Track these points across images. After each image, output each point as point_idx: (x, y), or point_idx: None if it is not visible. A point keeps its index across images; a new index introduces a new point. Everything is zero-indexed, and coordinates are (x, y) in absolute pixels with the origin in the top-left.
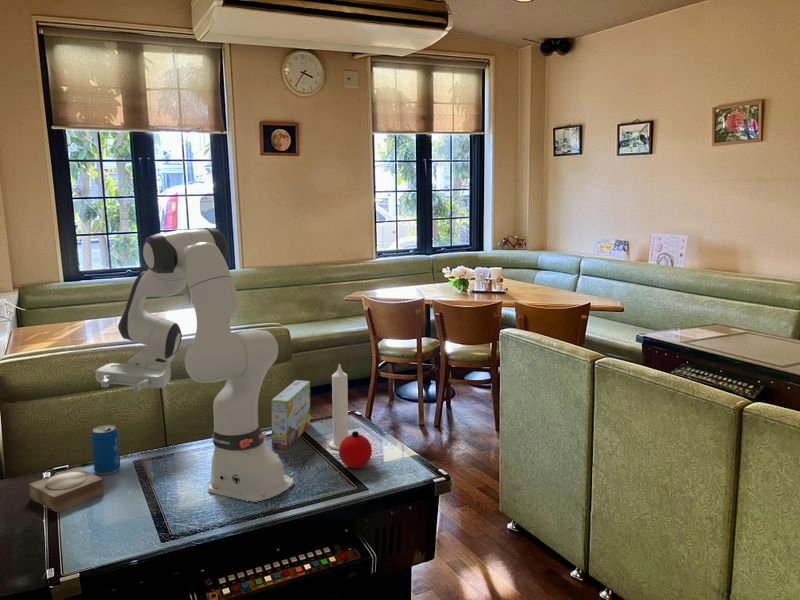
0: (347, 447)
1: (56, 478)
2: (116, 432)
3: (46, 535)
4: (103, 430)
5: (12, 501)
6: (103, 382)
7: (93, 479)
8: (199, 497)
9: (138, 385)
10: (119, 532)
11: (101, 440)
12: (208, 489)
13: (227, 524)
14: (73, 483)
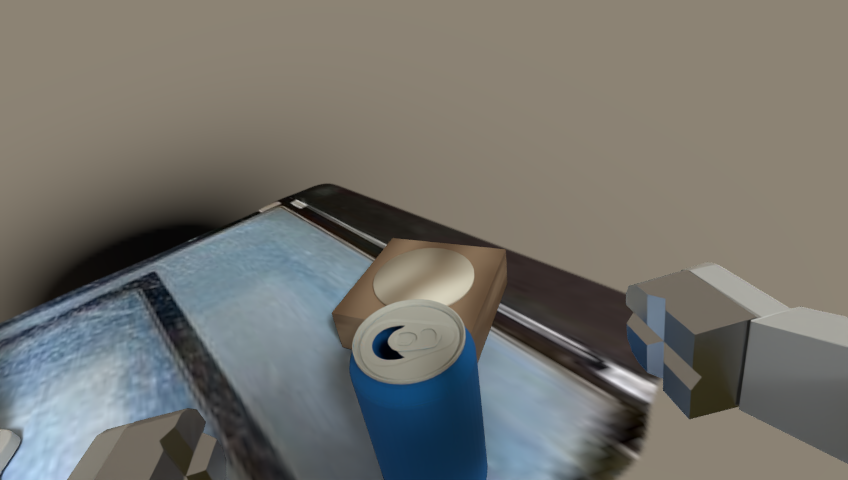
0: None
1: (455, 273)
2: (349, 368)
3: (361, 234)
4: (402, 328)
5: (538, 268)
6: (667, 277)
7: (356, 304)
8: (58, 407)
9: (115, 427)
10: (237, 268)
11: (393, 327)
12: (15, 435)
13: (15, 336)
14: (389, 271)
